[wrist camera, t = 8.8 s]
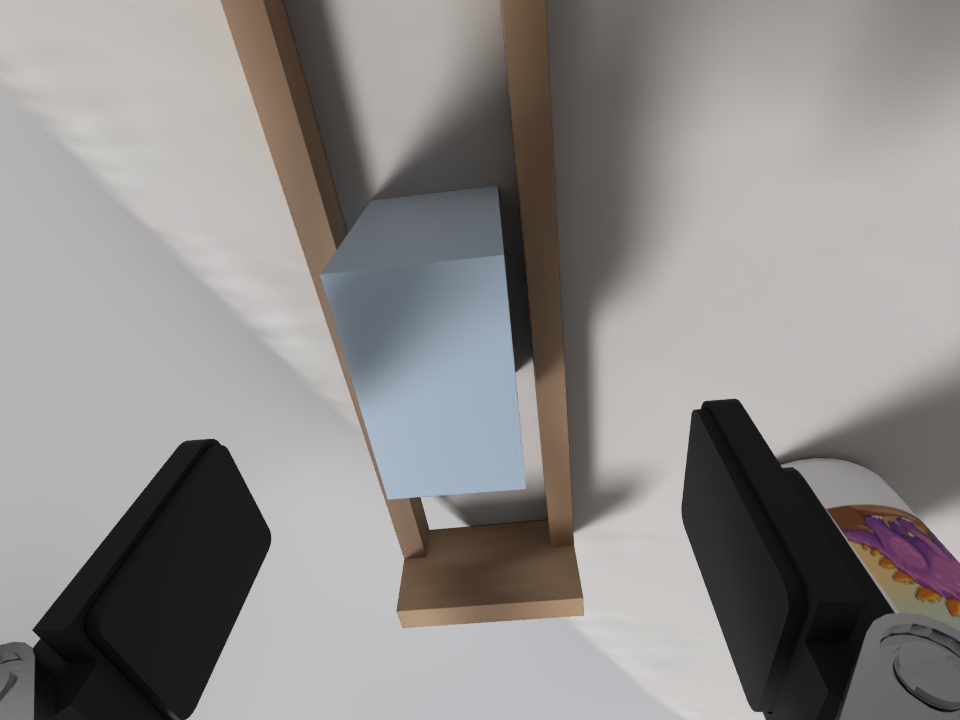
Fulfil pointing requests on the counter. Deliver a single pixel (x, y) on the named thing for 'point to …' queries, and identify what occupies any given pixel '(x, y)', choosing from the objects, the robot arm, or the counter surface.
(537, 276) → the bottom track
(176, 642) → the robot arm
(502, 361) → the pale blue upright box
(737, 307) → the counter surface
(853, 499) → the milk bottle
